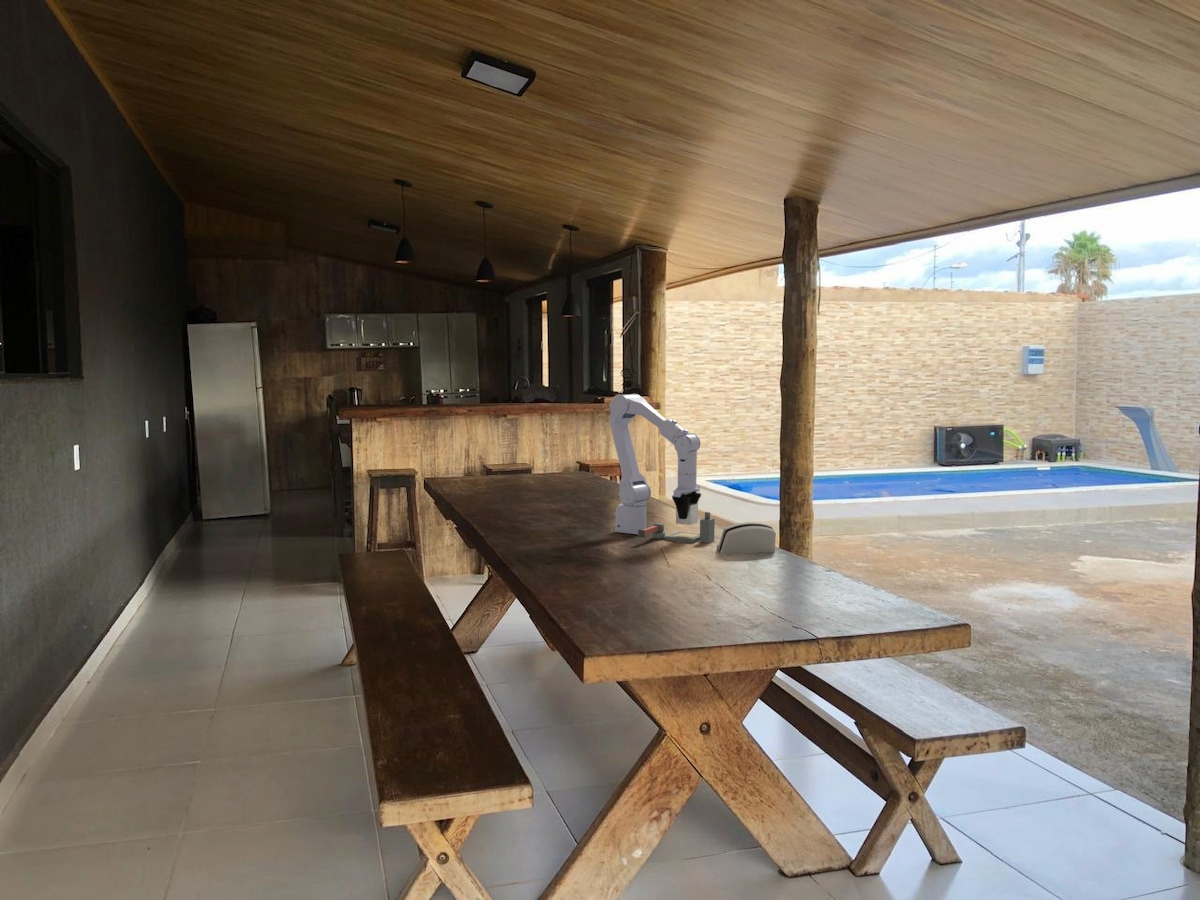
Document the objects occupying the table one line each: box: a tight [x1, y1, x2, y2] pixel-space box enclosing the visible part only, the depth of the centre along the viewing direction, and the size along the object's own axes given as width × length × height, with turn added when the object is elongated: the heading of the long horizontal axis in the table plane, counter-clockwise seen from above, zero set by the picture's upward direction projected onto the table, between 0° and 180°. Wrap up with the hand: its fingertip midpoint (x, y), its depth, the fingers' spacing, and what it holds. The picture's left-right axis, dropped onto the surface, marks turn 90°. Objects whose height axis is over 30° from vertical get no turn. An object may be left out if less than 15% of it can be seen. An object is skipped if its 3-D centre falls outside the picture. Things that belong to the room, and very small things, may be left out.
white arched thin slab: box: [716, 521, 777, 555], centre depth 269 cm, size 17×5×10 cm, turn 105°
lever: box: [637, 522, 665, 538], centre depth 284 cm, size 3×14×2 cm, turn 149°
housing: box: [675, 503, 699, 526], centre depth 287 cm, size 5×5×6 cm
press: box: [651, 511, 716, 544], centre depth 287 cm, size 18×10×9 cm, turn 59°
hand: (686, 517), depth 287 cm, fingers closed on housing, 5 cm apart
